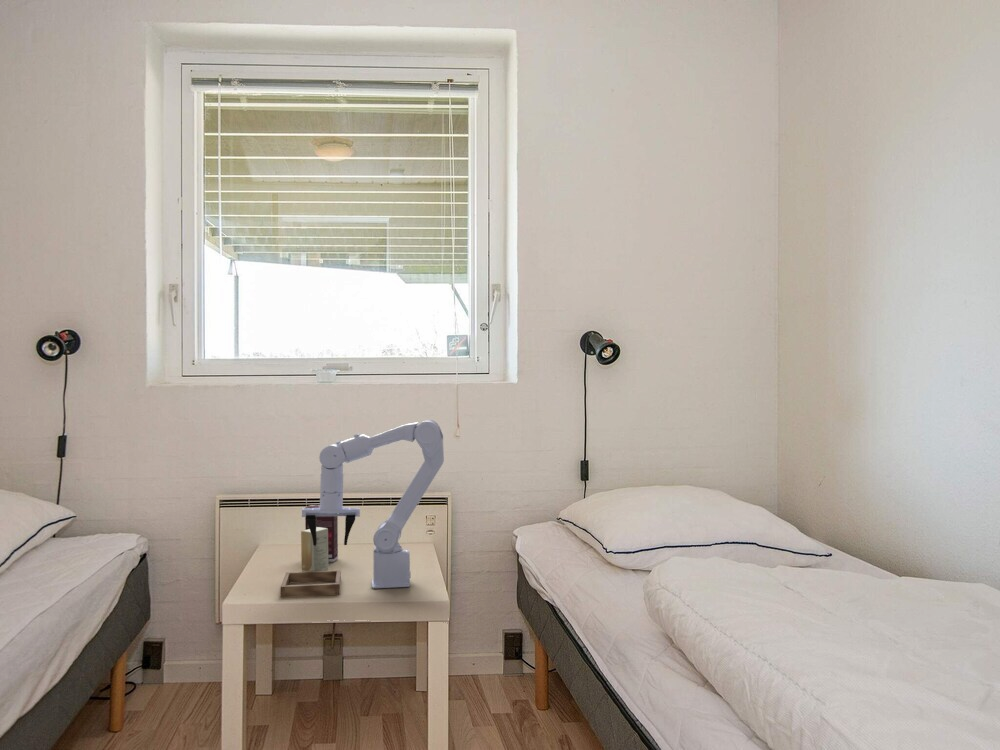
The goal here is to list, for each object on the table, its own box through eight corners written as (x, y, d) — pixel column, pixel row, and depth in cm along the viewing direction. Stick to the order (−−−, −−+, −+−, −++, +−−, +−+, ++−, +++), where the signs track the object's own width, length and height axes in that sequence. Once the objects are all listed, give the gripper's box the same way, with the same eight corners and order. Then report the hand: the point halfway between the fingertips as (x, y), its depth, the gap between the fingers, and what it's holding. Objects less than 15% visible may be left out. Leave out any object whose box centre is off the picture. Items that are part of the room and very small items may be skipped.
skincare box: (317, 570, 212) (317, 526, 212) (329, 572, 210) (329, 528, 210) (300, 575, 207) (300, 530, 207) (311, 577, 204) (311, 532, 204)
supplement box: (338, 558, 226) (338, 504, 226) (334, 562, 222) (334, 507, 222) (309, 558, 227) (309, 504, 227) (304, 562, 222) (304, 507, 222)
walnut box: (340, 579, 203) (340, 570, 203) (339, 594, 189) (339, 584, 189) (285, 582, 200) (285, 572, 200) (280, 597, 186) (280, 586, 186)
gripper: (360, 489, 203) (358, 540, 203) (303, 489, 200) (302, 541, 200) (360, 493, 196) (358, 546, 196) (301, 493, 193) (300, 547, 193)
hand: (330, 544), depth 197 cm, fingers open, 7 cm apart
